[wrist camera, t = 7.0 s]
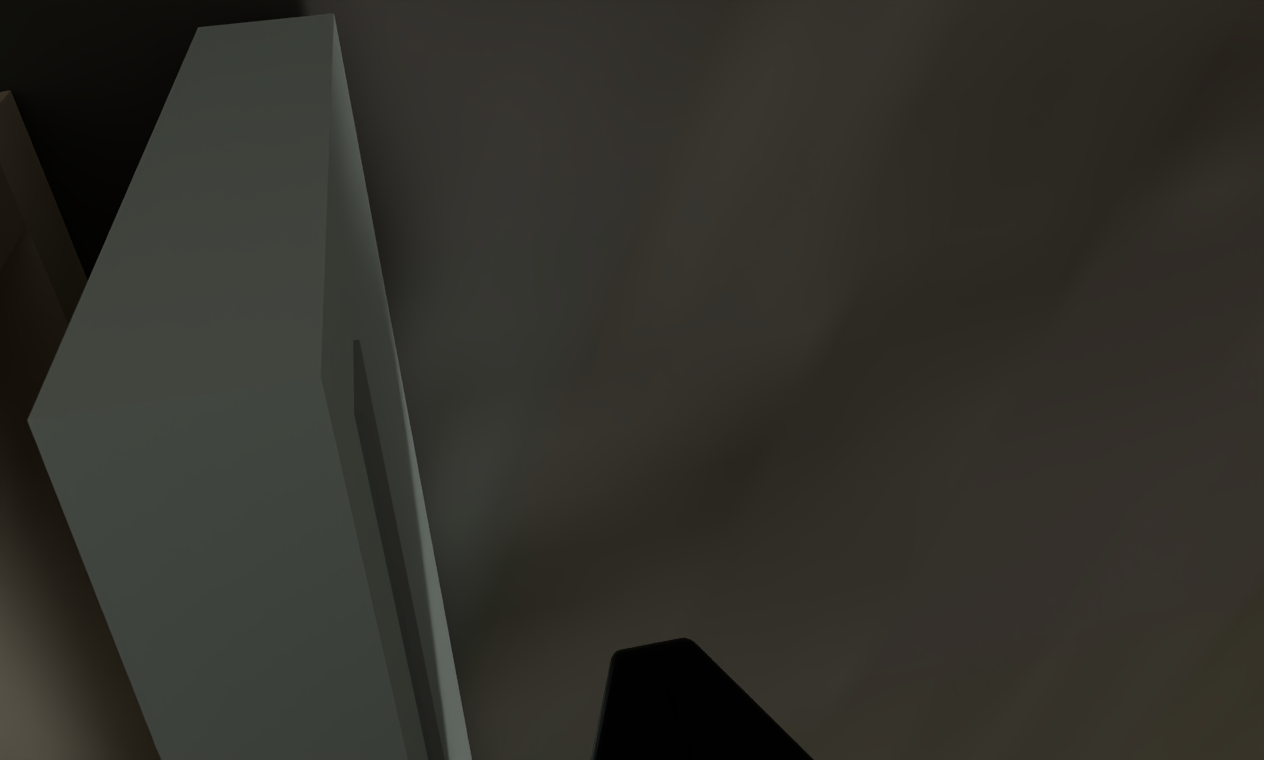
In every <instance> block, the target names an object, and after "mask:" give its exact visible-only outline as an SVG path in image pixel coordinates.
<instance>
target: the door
mask: <svg viewBox="0 0 1264 760" xmlns="http://www.w3.org/2000/svg"><path fill="white" fill-rule="evenodd" d="M27 421H28V424H29V426H30V429H31V431H32V434H33V436H34V439H35V441H36V444H37V446H38V449H39V451H40V454H41V456H42V459H43V462H44V464H45V467H46V469H47V472H48V474H49V477H50V479H51V482H52V484H53V487H54V489H55V492H56V495H57V497H58V500H59V502H60V505H61V507H62V510H63V512H64V515H65V517H66V520H67V522H68V525H69V528H70V530H71V533H72V535H73V538H74V540H75V543H76V545H77V548H78V550H79V553H80V555H81V558H82V560H83V563H84V566H85V568H86V571H87V573H88V576H89V578H90V581H91V583H92V586H93V588H94V591H95V593H96V596H97V599H98V601H99V604H100V606H101V609H102V611H103V614H104V616H105V619H106V621H107V624H108V626H109V629H110V632H111V634H112V637H113V639H114V642H115V644H116V647H117V649H118V652H119V654H120V657H121V659H122V662H123V664H124V667H125V670H126V672H127V675H128V677H129V680H130V682H131V685H132V687H133V690H134V692H135V695H136V697H137V700H138V703H139V705H140V708H141V710H142V713H143V715H144V718H145V720H146V723H147V725H148V728H149V730H150V733H151V735H152V738H153V741H154V743H155V746H156V748H157V751H158V753H159V756H160V758H161V760H472V758H471V752H470V747H469V742H468V736H467V731H466V725H465V720H464V715H463V709H462V704H461V698H460V693H459V687H458V682H457V677H456V671H455V666H454V660H453V655H452V650H451V644H450V639H449V633H448V628H447V622H446V617H445V612H444V606H443V601H442V595H441V590H440V585H439V579H438V574H437V568H436V563H435V557H434V552H433V547H432V541H431V536H430V530H429V525H428V520H427V514H426V509H425V503H424V498H423V493H422V487H421V482H420V476H419V471H418V465H417V460H416V455H415V449H414V444H413V438H412V433H411V428H410V422H409V417H408V411H407V406H406V400H405V395H404V390H403V384H402V379H401V373H400V368H399V363H398V357H397V352H396V346H395V341H394V335H393V330H392V325H391V319H390V314H389V308H388V303H387V298H386V292H385V287H384V281H383V276H382V270H381V265H380V260H379V254H378V249H377V243H376V238H375V233H374V227H373V222H372V216H371V211H370V205H369V200H368V195H367V189H366V184H365V178H364V173H363V168H362V162H361V157H360V151H359V146H358V141H357V135H356V130H355V124H354V119H353V113H352V108H351V103H350V97H349V92H348V86H347V81H346V76H345V70H344V65H343V59H342V54H341V48H340V43H339V38H338V32H337V27H336V21H335V16H334V13H332V14H323V15H313V16H303V17H294V18H284V19H274V20H265V21H255V22H245V23H235V24H226V25H216V26H206V27H198V29H197V31H196V33H195V36H194V38H193V40H192V43H191V45H190V47H189V49H188V52H187V54H186V56H185V59H184V61H183V63H182V66H181V68H180V70H179V72H178V75H177V77H176V79H175V82H174V84H173V86H172V89H171V91H170V93H169V95H168V98H167V100H166V102H165V105H164V107H163V109H162V112H161V114H160V116H159V119H158V121H157V123H156V125H155V128H154V130H153V132H152V135H151V137H150V139H149V142H148V144H147V146H146V148H145V151H144V153H143V155H142V158H141V160H140V162H139V165H138V167H137V169H136V171H135V174H134V176H133V178H132V181H131V183H130V185H129V188H128V190H127V192H126V194H125V197H124V199H123V201H122V204H121V206H120V208H119V211H118V213H117V215H116V217H115V220H114V222H113V224H112V227H111V229H110V231H109V234H108V236H107V238H106V241H105V243H104V245H103V247H102V250H101V252H100V254H99V257H98V259H97V261H96V264H95V266H94V268H93V270H92V273H91V275H90V277H89V280H88V282H87V284H86V287H85V289H84V291H83V293H82V296H81V298H80V300H79V303H78V305H77V307H76V310H75V312H74V314H73V316H72V319H71V321H70V323H69V326H68V328H67V330H66V333H65V335H64V337H63V339H62V342H61V344H60V346H59V349H58V351H57V353H56V356H55V358H54V360H53V363H52V365H51V367H50V369H49V372H48V374H47V376H46V379H45V381H44V383H43V386H42V388H41V390H40V392H39V395H38V397H37V399H36V402H35V404H34V406H33V409H32V411H31V413H30V415H29V418H28V420H27Z"/></svg>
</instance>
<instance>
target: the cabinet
mask: <svg viewBox="0 0 1264 760" xmlns="http://www.w3.org/2000/svg"><path fill="white" fill-rule="evenodd" d="M87 282H88V280H87V278H86V275H85V273H84V270H83V268H82V265H81V263H80V260H79V258H78V255H77V253H76V250H75V248H74V245H73V243H72V241H71V238H70V236H69V233H68V231H67V228H66V226H65V223H64V221H63V218H62V216H61V213H60V211H59V208H58V206H57V204H56V201H55V199H54V196H53V194H52V191H51V189H50V186H49V184H48V181H47V179H46V176H45V174H44V171H43V169H42V167H41V164H40V162H39V159H38V157H37V154H36V152H35V149H34V147H33V144H32V142H31V139H30V137H29V134H28V132H27V130H26V127H25V125H24V122H23V120H22V117H21V115H20V112H19V110H18V107H17V105H16V102H15V100H14V97H13V95H12V92H11V90H9V91H3V92H0V760H161V758H160V756H159V753H158V751H157V748H156V746H155V743H154V741H153V738H152V735H151V733H150V730H149V728H148V725H147V723H146V720H145V718H144V715H143V713H142V710H141V708H140V705H139V703H138V700H137V697H136V695H135V692H134V690H133V687H132V685H131V682H130V680H129V677H128V675H127V672H126V670H125V667H124V664H123V662H122V659H121V657H120V654H119V652H118V649H117V647H116V644H115V642H114V639H113V637H112V634H111V632H110V629H109V626H108V624H107V621H106V619H105V616H104V614H103V611H102V609H101V606H100V604H99V601H98V599H97V596H96V593H95V591H94V588H93V586H92V583H91V581H90V578H89V576H88V573H87V571H86V568H85V566H84V563H83V560H82V558H81V555H80V553H79V550H78V548H77V545H76V543H75V540H74V538H73V535H72V533H71V530H70V528H69V525H68V522H67V520H66V517H65V515H64V512H63V510H62V507H61V505H60V502H59V500H58V497H57V495H56V492H55V489H54V487H53V484H52V482H51V479H50V477H49V474H48V472H47V469H46V467H45V464H44V462H43V459H42V456H41V454H40V451H39V449H38V446H37V444H36V441H35V439H34V436H33V434H32V431H31V429H30V426H29V424H28V421H27V420H28V418H29V415H30V413H31V411H32V409H33V406H34V404H35V402H36V399H37V397H38V395H39V392H40V390H41V388H42V386H43V383H44V381H45V379H46V376H47V374H48V372H49V369H50V367H51V365H52V363H53V360H54V358H55V356H56V353H57V351H58V349H59V346H60V344H61V342H62V339H63V337H64V335H65V333H66V330H67V328H68V326H69V323H70V321H71V319H72V316H73V314H74V312H75V310H76V307H77V305H78V303H79V300H80V298H81V296H82V293H83V291H84V289H85V287H86V284H87Z"/></svg>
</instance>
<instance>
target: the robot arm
mask: <svg viewBox="0 0 1264 760" xmlns="http://www.w3.org/2000/svg"><path fill="white" fill-rule="evenodd" d="M591 760H814V759H812V758H811V757H810V756H809V755H808V754H807V753H806V752H805V751H804V750H803V749H802V748H801V747H800V746H799V745H798V744H797V743H796V742H795V741H794V740H793V739H792V738H791V737H790V736H789V735H788V734H787V733H786V732H785V731H784V730H783V729H782V728H781V727H780V726H779V725H778V724H777V723H776V722H775V721H774V720H773V719H772V718H771V717H770V716H769V715H768V714H767V713H766V712H765V711H764V710H763V709H762V708H761V707H760V706H759V705H758V704H757V703H756V702H755V701H754V700H753V699H752V698H751V697H750V696H749V695H748V694H747V693H746V692H745V691H744V690H743V689H742V688H741V687H740V686H739V685H738V684H736V683H735V682H734V681H733V680H732V679H731V678H730V677H729V676H728V675H727V674H726V673H725V672H724V671H723V670H722V669H721V668H720V667H719V666H718V665H717V664H716V663H715V662H714V661H713V660H712V659H711V658H710V657H709V656H708V655H707V654H706V653H705V652H704V651H703V650H702V649H701V648H700V647H699V646H698V645H697V644H696V643H695V642H693V641H692V640H690V639H687V638H679V639H674V640H669V641H663V642H658V643H653V644H648V645H643V646H637V647H632V648H627V649H622V650H618V651H616V652H615V653H614V655H613V656H612V658H611V662H610V667H609V672H608V677H607V682H606V687H605V692H604V697H603V702H602V707H601V712H600V717H599V722H598V727H597V732H596V737H595V742H594V747H593V752H592V757H591Z"/></svg>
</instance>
